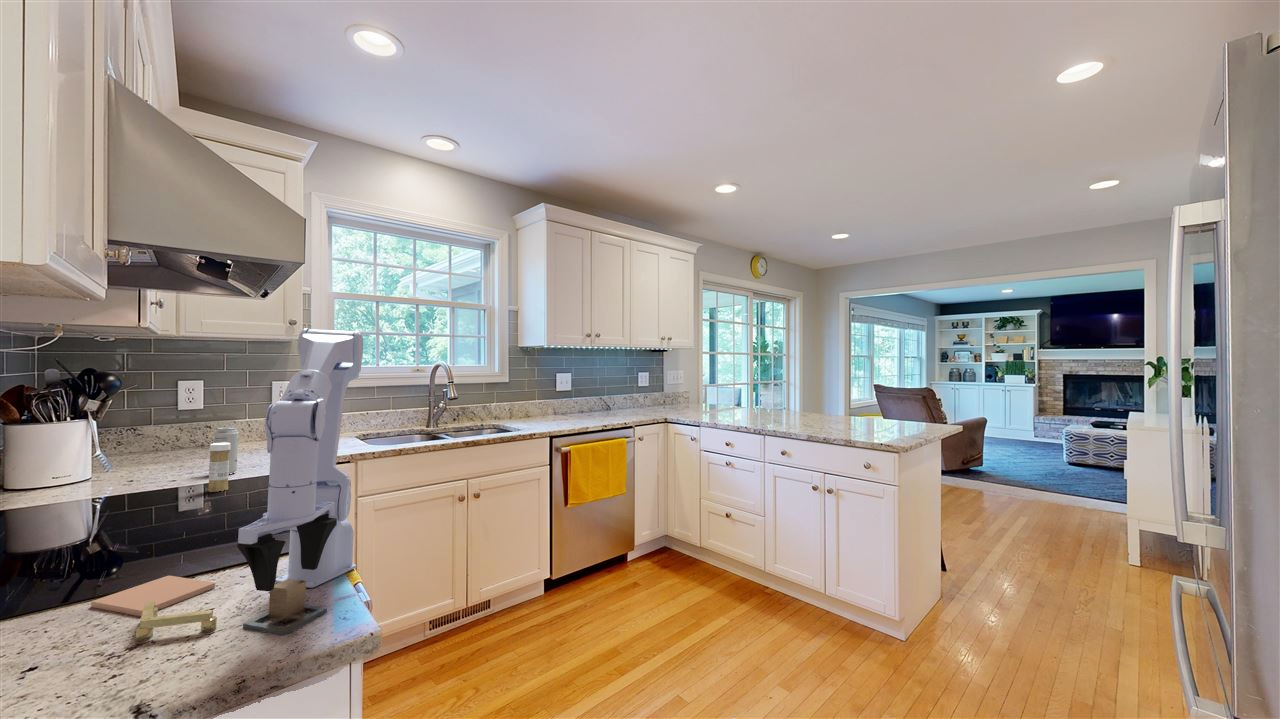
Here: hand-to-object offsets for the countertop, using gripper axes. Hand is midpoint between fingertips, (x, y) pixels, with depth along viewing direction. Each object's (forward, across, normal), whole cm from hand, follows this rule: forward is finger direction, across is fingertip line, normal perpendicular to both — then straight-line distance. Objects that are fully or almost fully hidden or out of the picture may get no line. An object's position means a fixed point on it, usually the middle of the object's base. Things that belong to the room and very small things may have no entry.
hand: (288, 578), depth 72 cm
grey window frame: (+6, 0, 0) cm, 6 cm away
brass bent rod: (+6, +6, -13) cm, 16 cm away
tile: (+6, -2, -25) cm, 26 cm away
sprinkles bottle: (+6, -60, -79) cm, 100 cm away
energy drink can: (+6, -78, -98) cm, 126 cm away
